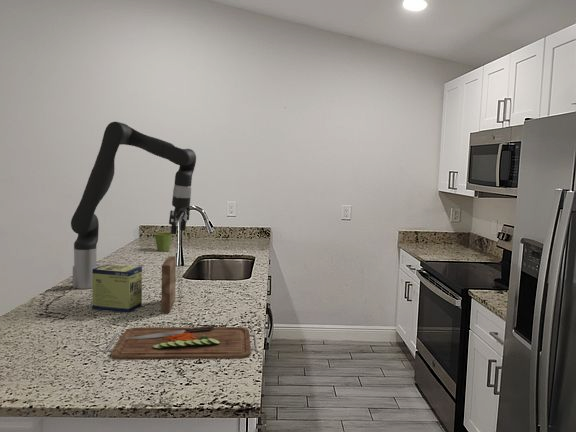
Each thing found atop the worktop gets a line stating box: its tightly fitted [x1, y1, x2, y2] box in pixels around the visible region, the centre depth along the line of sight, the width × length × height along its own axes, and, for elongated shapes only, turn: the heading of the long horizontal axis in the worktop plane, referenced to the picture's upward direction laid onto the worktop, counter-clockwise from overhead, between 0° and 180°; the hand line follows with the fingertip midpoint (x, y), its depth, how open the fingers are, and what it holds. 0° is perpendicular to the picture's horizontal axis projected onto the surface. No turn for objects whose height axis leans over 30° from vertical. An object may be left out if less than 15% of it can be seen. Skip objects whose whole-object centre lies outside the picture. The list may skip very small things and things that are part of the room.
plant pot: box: [153, 232, 173, 253], centre depth 332 cm, size 12×12×11 cm
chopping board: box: [103, 325, 259, 360], centre depth 162 cm, size 45×27×3 cm, turn 96°
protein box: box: [91, 264, 143, 314], centre depth 198 cm, size 10×16×16 cm
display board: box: [160, 255, 177, 314], centre depth 202 cm, size 3×20×18 cm, turn 6°
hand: (178, 232), depth 225 cm, fingers open, 8 cm apart
